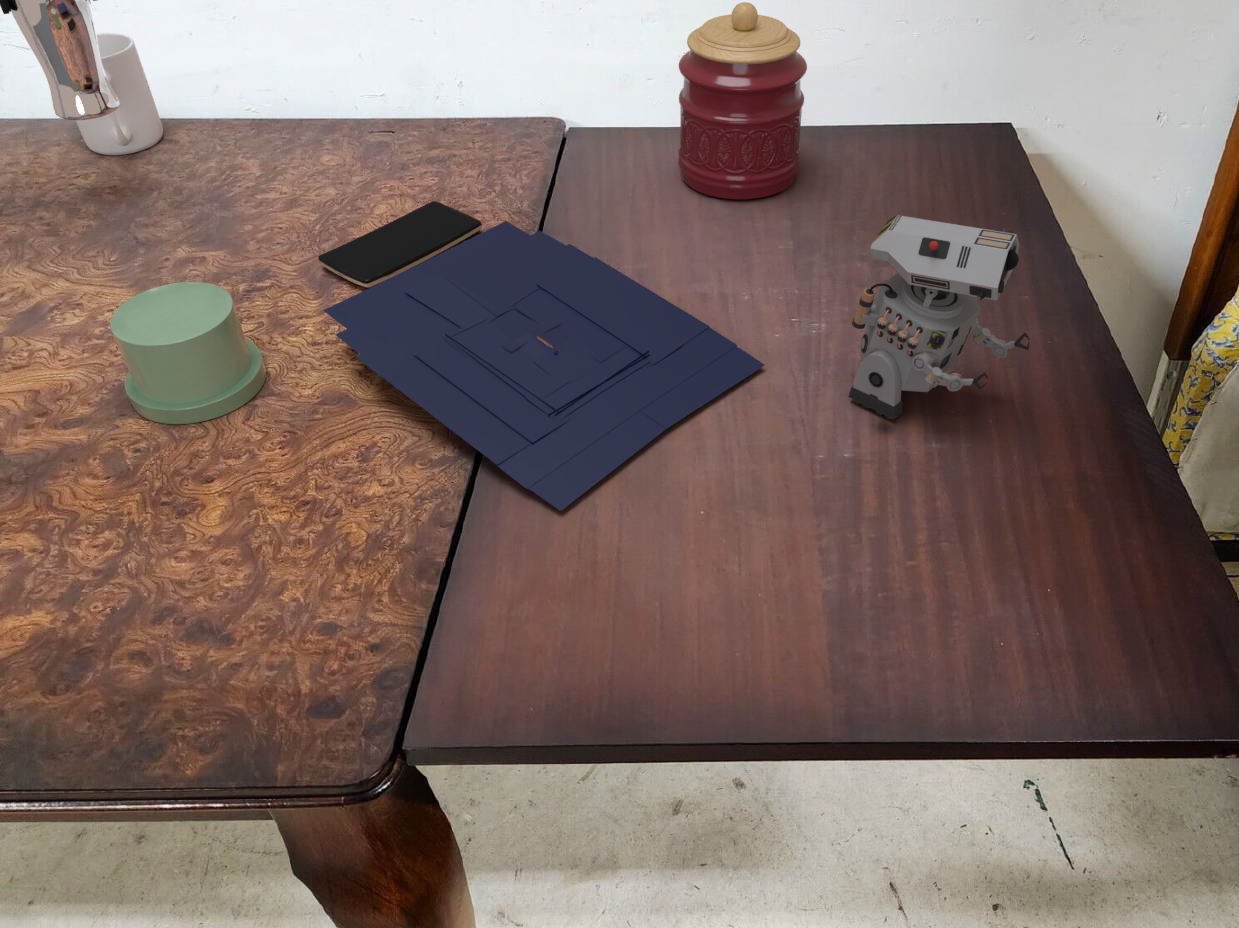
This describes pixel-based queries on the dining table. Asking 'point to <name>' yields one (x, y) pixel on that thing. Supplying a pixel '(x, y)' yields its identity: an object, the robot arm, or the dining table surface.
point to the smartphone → (400, 244)
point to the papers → (539, 356)
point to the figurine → (928, 308)
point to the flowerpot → (186, 353)
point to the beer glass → (67, 55)
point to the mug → (123, 102)
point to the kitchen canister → (741, 106)
